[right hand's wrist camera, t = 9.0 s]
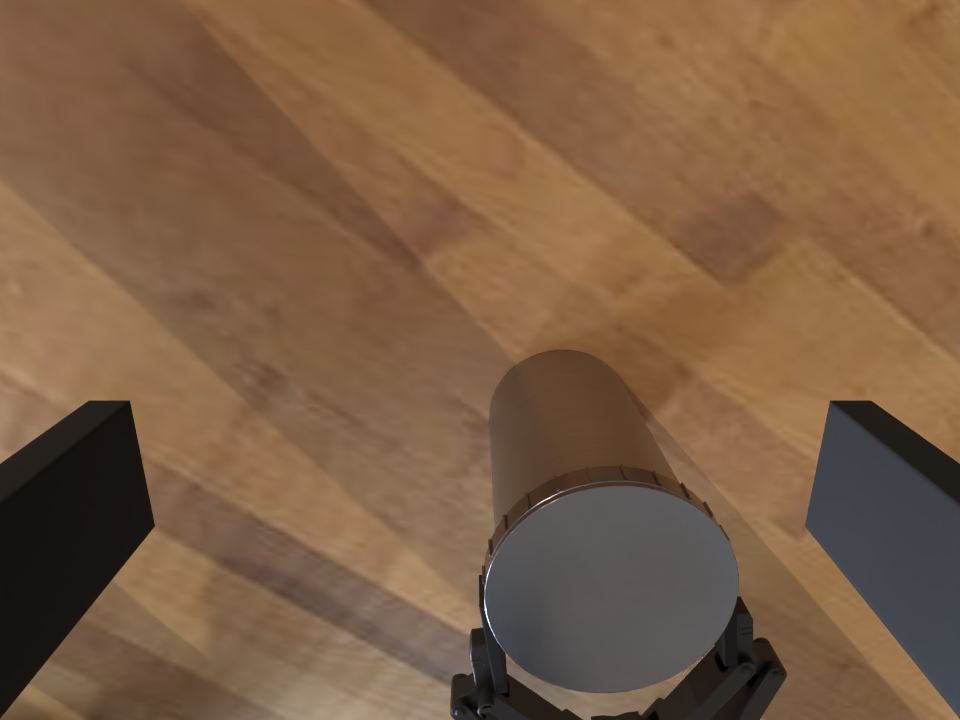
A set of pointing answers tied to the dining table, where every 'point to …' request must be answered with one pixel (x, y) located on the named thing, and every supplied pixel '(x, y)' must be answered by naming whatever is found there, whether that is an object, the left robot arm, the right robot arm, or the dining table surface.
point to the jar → (563, 425)
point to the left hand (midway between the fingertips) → (602, 574)
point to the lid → (608, 580)
